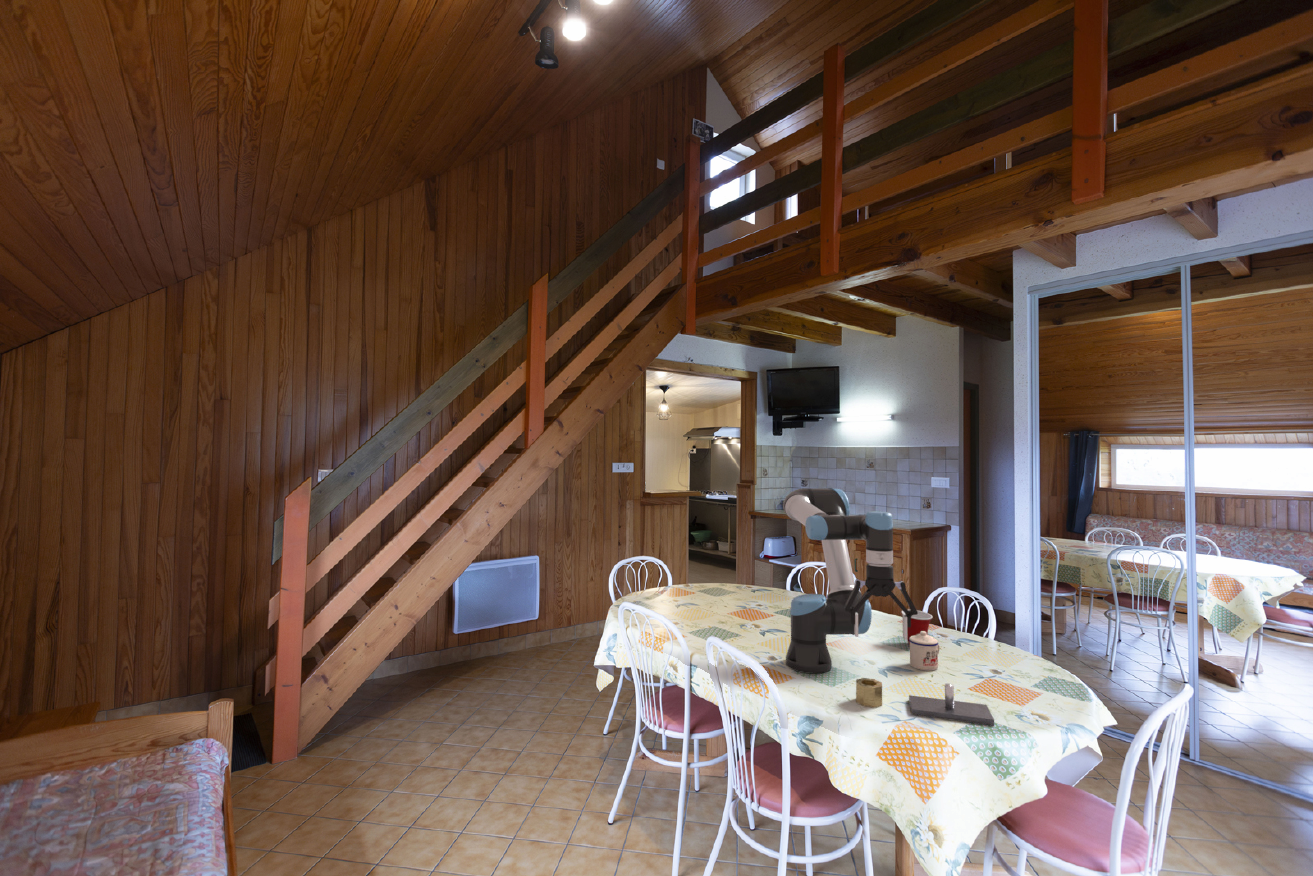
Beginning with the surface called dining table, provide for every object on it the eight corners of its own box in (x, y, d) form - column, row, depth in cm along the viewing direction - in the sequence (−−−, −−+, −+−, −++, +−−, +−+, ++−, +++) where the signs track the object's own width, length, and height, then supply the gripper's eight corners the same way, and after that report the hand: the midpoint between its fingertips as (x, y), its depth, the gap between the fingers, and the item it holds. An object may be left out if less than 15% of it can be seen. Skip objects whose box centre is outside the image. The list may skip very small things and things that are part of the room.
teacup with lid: (926, 673, 193) (925, 637, 194) (903, 664, 201) (902, 630, 202) (950, 667, 199) (950, 632, 199) (927, 659, 207) (926, 625, 207)
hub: (856, 705, 168) (856, 685, 168) (856, 695, 175) (856, 677, 175) (882, 708, 166) (882, 688, 166) (881, 699, 172) (881, 680, 173)
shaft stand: (911, 714, 162) (911, 687, 162) (909, 700, 171) (908, 674, 172) (994, 725, 155) (993, 696, 156) (986, 710, 165) (986, 683, 165)
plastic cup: (924, 651, 214) (924, 618, 215) (896, 644, 223) (895, 612, 223) (938, 645, 221) (937, 613, 222) (910, 638, 230) (909, 607, 230)
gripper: (837, 565, 173) (837, 638, 172) (927, 568, 168) (929, 643, 167) (834, 560, 180) (835, 630, 180) (921, 563, 175) (922, 635, 175)
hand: (880, 637), depth 173 cm, fingers open, 13 cm apart
